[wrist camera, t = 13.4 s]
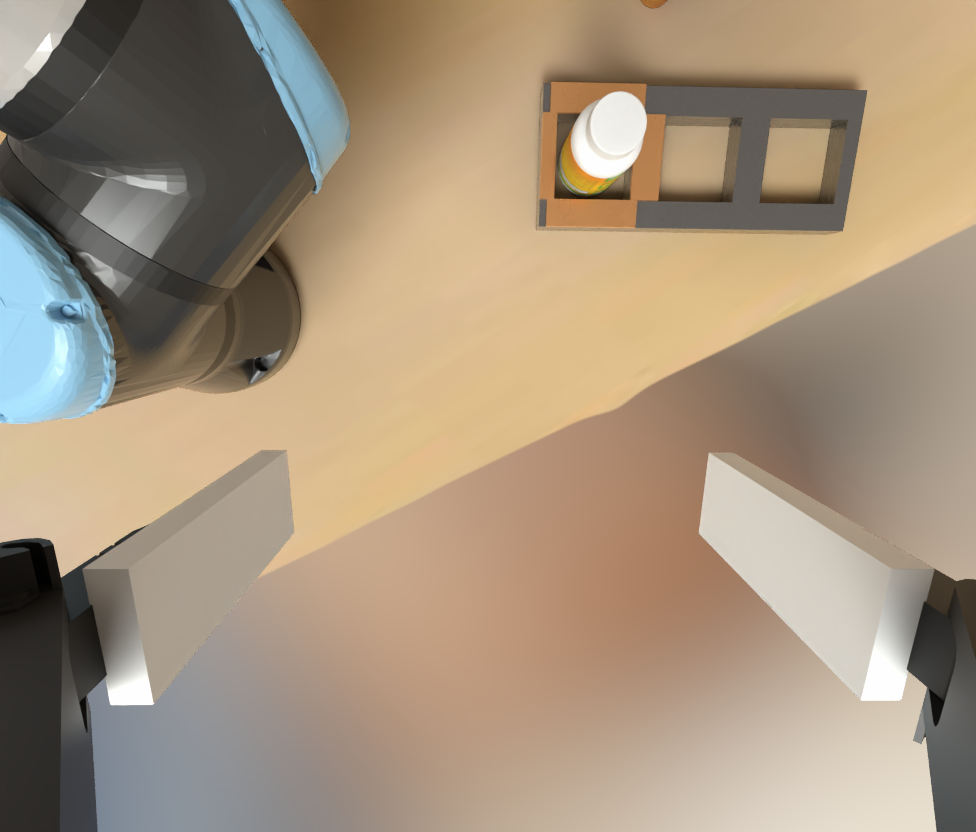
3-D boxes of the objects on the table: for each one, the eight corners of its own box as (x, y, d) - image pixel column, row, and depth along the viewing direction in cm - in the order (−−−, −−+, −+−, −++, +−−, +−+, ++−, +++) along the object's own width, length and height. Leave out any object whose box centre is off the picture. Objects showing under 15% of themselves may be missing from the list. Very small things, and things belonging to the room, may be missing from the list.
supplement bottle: (591, 210, 42) (623, 182, 33) (544, 172, 42) (564, 132, 32) (629, 158, 41) (674, 114, 32) (582, 117, 41) (614, 60, 31)
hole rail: (536, 230, 43) (539, 225, 40) (540, 94, 40) (544, 81, 38) (826, 234, 43) (845, 230, 41) (848, 100, 41) (870, 88, 38)
